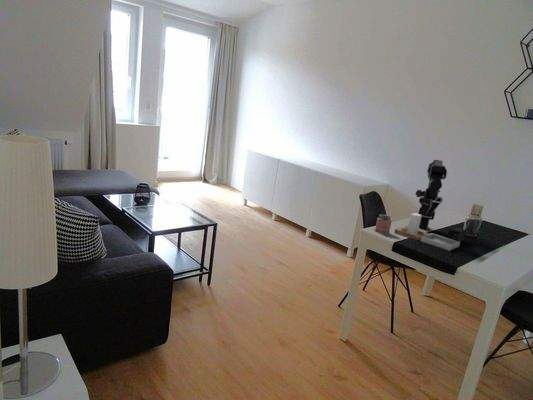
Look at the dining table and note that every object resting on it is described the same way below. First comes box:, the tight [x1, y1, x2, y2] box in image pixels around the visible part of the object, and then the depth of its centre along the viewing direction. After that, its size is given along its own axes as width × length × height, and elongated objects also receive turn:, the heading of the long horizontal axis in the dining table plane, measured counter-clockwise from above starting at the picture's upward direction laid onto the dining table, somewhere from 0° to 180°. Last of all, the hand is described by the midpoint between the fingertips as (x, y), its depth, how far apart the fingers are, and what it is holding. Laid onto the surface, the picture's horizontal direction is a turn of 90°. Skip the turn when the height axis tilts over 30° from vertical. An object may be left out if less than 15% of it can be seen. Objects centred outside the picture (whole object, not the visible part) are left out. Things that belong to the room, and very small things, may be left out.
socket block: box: [394, 226, 430, 241], centre depth 208 cm, size 14×14×2 cm
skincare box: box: [406, 212, 422, 236], centre depth 207 cm, size 6×4×12 cm
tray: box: [420, 232, 461, 252], centre depth 198 cm, size 15×15×3 cm
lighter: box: [374, 213, 393, 235], centre depth 205 cm, size 8×3×10 cm, turn 84°
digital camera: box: [447, 227, 467, 243], centre depth 208 cm, size 10×5×7 cm, turn 132°
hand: (427, 214), depth 209 cm, fingers open, 9 cm apart
